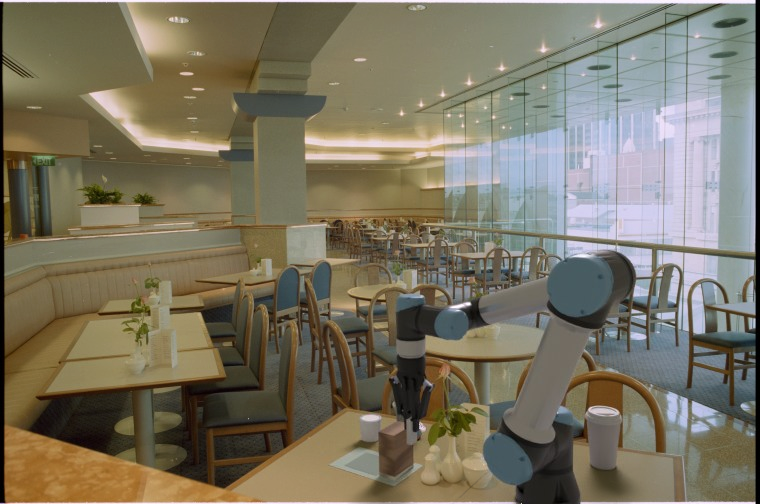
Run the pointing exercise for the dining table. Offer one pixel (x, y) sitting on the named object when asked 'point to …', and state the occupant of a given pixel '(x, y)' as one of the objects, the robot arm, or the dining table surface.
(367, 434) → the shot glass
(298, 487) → the dining table surface
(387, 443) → the walnut block
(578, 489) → the robot arm
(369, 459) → the rubber mat
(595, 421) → the coffee cup
